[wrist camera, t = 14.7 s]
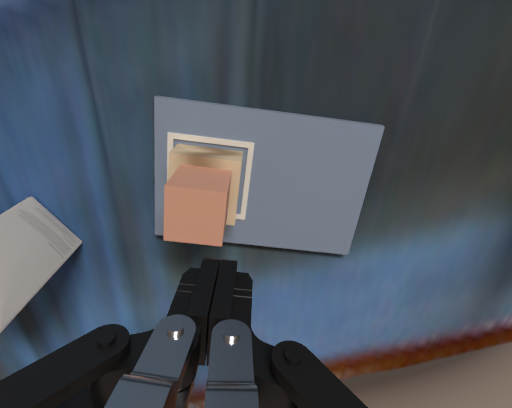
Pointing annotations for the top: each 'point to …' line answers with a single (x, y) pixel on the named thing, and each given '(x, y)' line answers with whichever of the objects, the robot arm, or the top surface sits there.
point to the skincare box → (29, 254)
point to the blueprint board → (277, 170)
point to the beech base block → (211, 160)
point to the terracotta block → (196, 205)
